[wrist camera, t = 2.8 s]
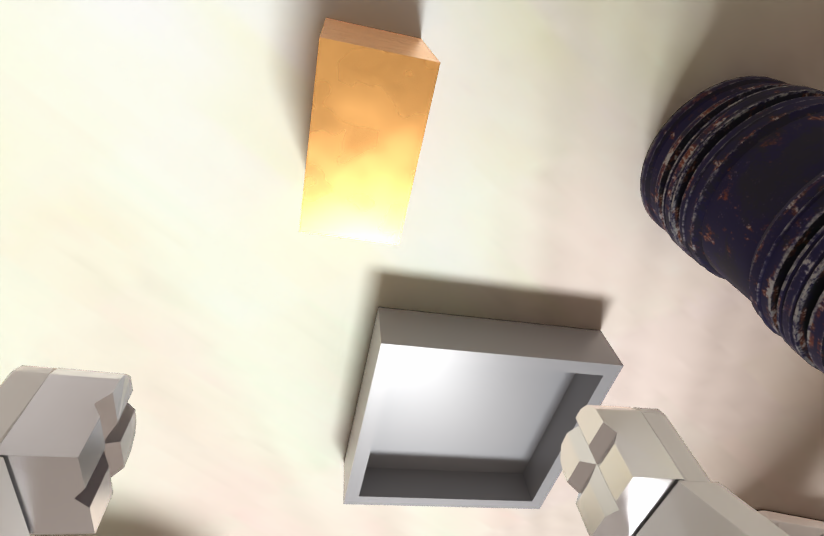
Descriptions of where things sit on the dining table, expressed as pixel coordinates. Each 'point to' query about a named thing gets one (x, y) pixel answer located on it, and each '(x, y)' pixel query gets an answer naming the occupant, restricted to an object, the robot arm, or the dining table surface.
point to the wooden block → (365, 131)
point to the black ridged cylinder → (749, 198)
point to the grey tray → (469, 409)
